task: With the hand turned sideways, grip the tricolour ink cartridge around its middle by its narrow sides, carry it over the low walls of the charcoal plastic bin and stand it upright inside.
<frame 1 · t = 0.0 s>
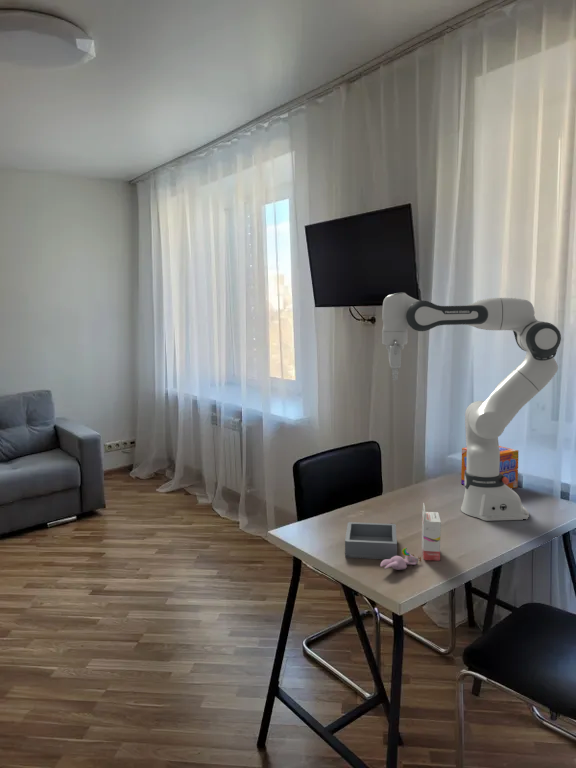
hand: (394, 378, 195), 48 cm above the table, tool pointing down, fingers open, 8 cm apart
game box: (488, 486, 224), on the table
ink cartridge box: (430, 555, 162), on the table
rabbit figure: (400, 569, 154), on the table
cartridge bin: (371, 547, 168), on the table
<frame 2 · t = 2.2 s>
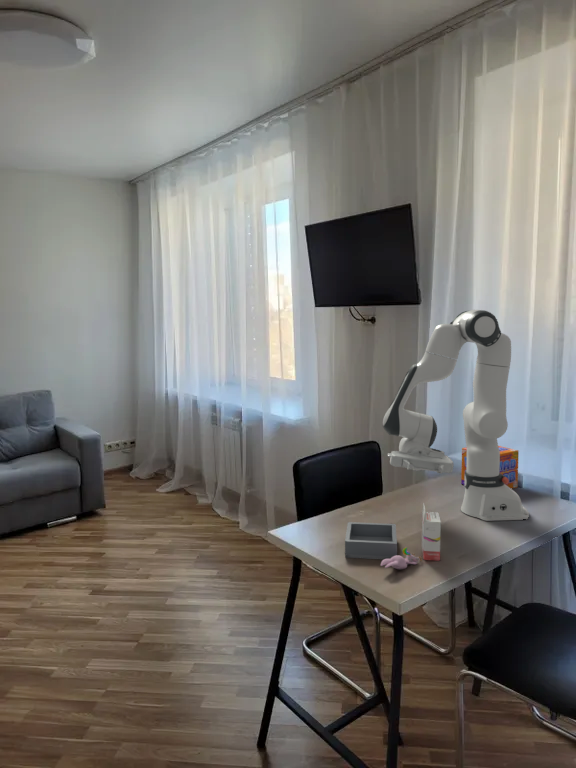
hand: (425, 469, 172), 22 cm above the table, tool horizontal, fingers open, 8 cm apart
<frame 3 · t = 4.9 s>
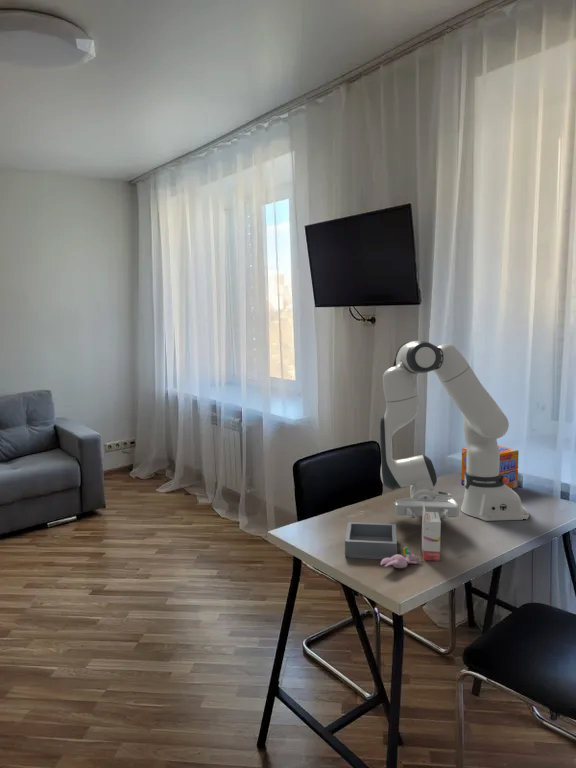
hand: (428, 516, 171), 8 cm above the table, tool horizontal, fingers open, 8 cm apart
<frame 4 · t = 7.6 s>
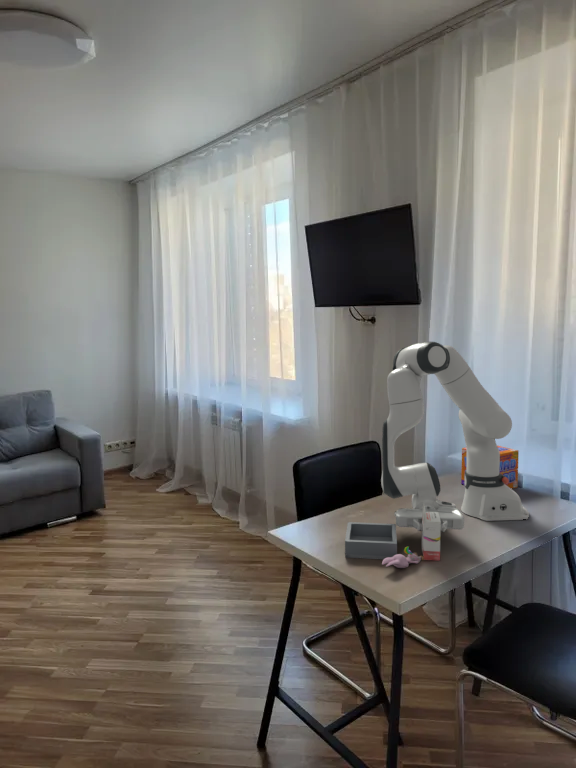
hand: (431, 528, 161), 8 cm above the table, tool horizontal, fingers closed on ink cartridge box, 5 cm apart
ink cartridge box: (430, 555, 162), on the table, touching gripper
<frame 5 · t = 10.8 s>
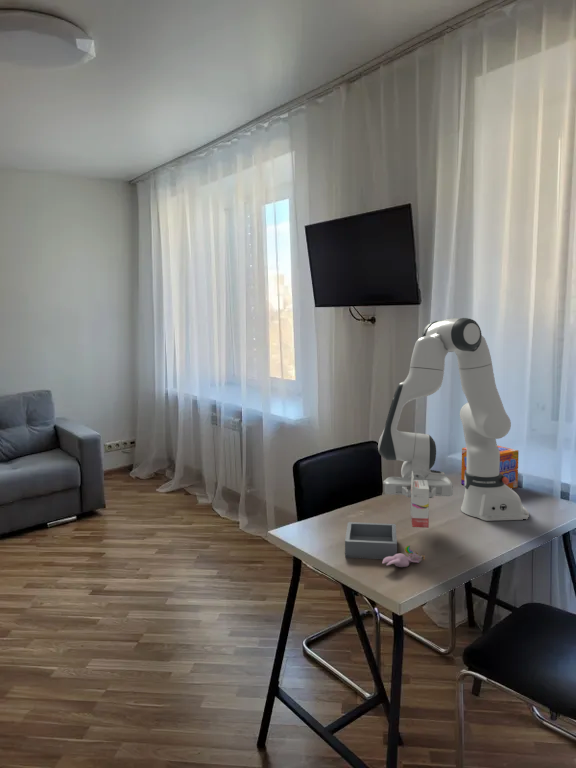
hand: (419, 495, 161), 18 cm above the table, tool horizontal, fingers closed on ink cartridge box, 5 cm apart
ink cartridge box: (419, 522, 162), point 9 cm above the table, touching gripper
when the fingers open (10 cm above the table, at t = 14.3 s): ink cartridge box stays where it is, resting on cartridge bin.
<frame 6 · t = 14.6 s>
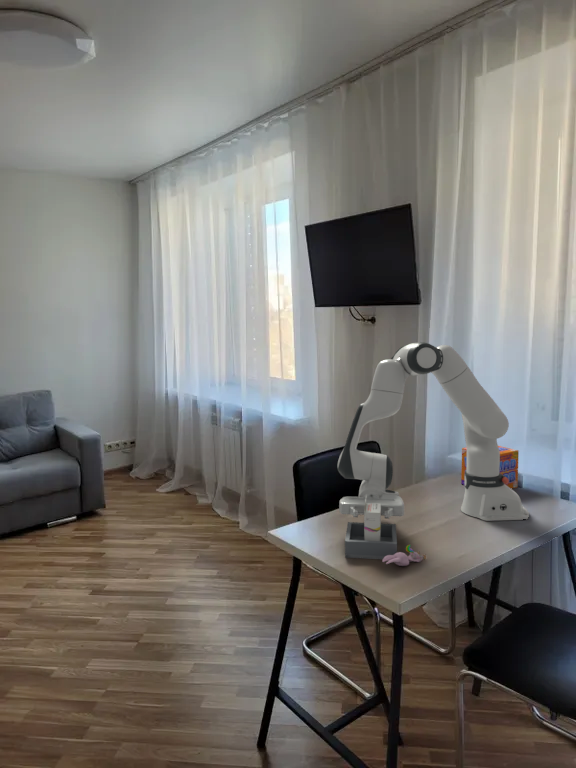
hand: (371, 515, 166), 10 cm above the table, tool horizontal, fingers open, 8 cm apart
ink cartridge box: (372, 545, 168), point 1 cm above the table, touching cartridge bin
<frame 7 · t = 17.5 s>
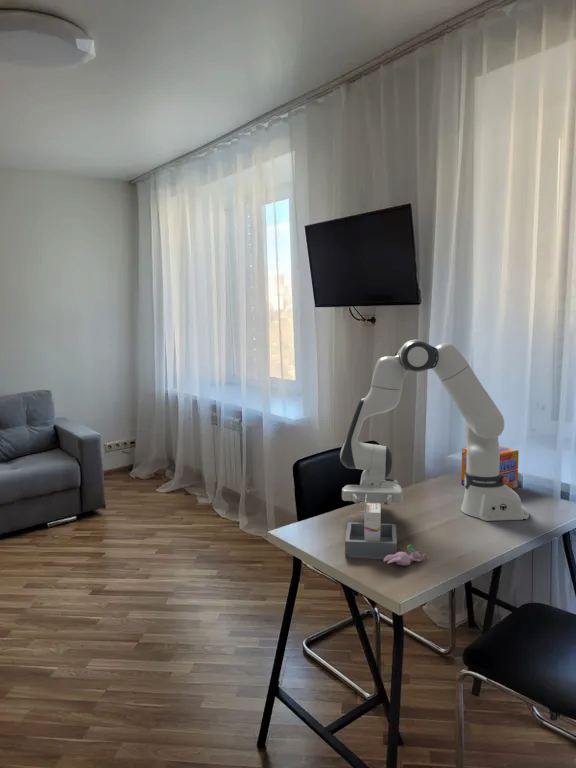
hand: (371, 501, 178), 10 cm above the table, tool horizontal, fingers open, 8 cm apart
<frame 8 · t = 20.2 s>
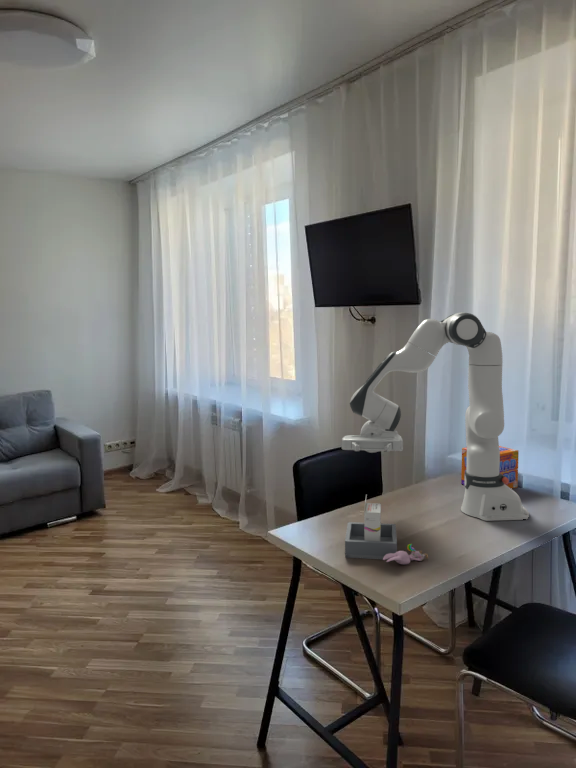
hand: (371, 448, 176), 28 cm above the table, tool horizontal, fingers open, 8 cm apart
at the end: ink cartridge box inside the target area on the cartridge bin (0.6 cm from its centre), point 0.8 cm above the cartridge bin's base; ink cartridge box tilted 0°; the gripper is holding nothing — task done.
